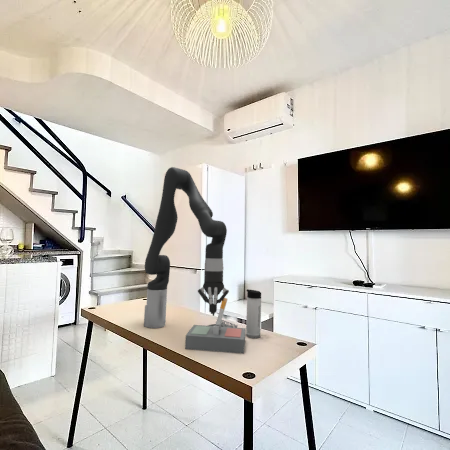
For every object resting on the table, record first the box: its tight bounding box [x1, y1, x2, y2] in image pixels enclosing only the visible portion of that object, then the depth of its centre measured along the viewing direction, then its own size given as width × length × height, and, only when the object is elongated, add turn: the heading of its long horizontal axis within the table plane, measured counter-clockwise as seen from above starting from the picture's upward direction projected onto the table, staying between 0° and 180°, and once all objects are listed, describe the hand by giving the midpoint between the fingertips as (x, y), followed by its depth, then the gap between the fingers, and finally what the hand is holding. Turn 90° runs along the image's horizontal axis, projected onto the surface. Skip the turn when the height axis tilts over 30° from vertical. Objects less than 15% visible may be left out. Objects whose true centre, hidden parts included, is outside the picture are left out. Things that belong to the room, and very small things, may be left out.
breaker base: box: [184, 320, 246, 354], centre depth 112 cm, size 22×14×8 cm, turn 83°
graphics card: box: [206, 319, 239, 328], centre depth 128 cm, size 17×4×12 cm
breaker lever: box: [215, 297, 228, 327], centre depth 112 cm, size 2×6×11 cm, turn 173°
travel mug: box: [245, 288, 262, 339], centre depth 124 cm, size 6×7×20 cm
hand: (213, 313), depth 112 cm, fingers closed
